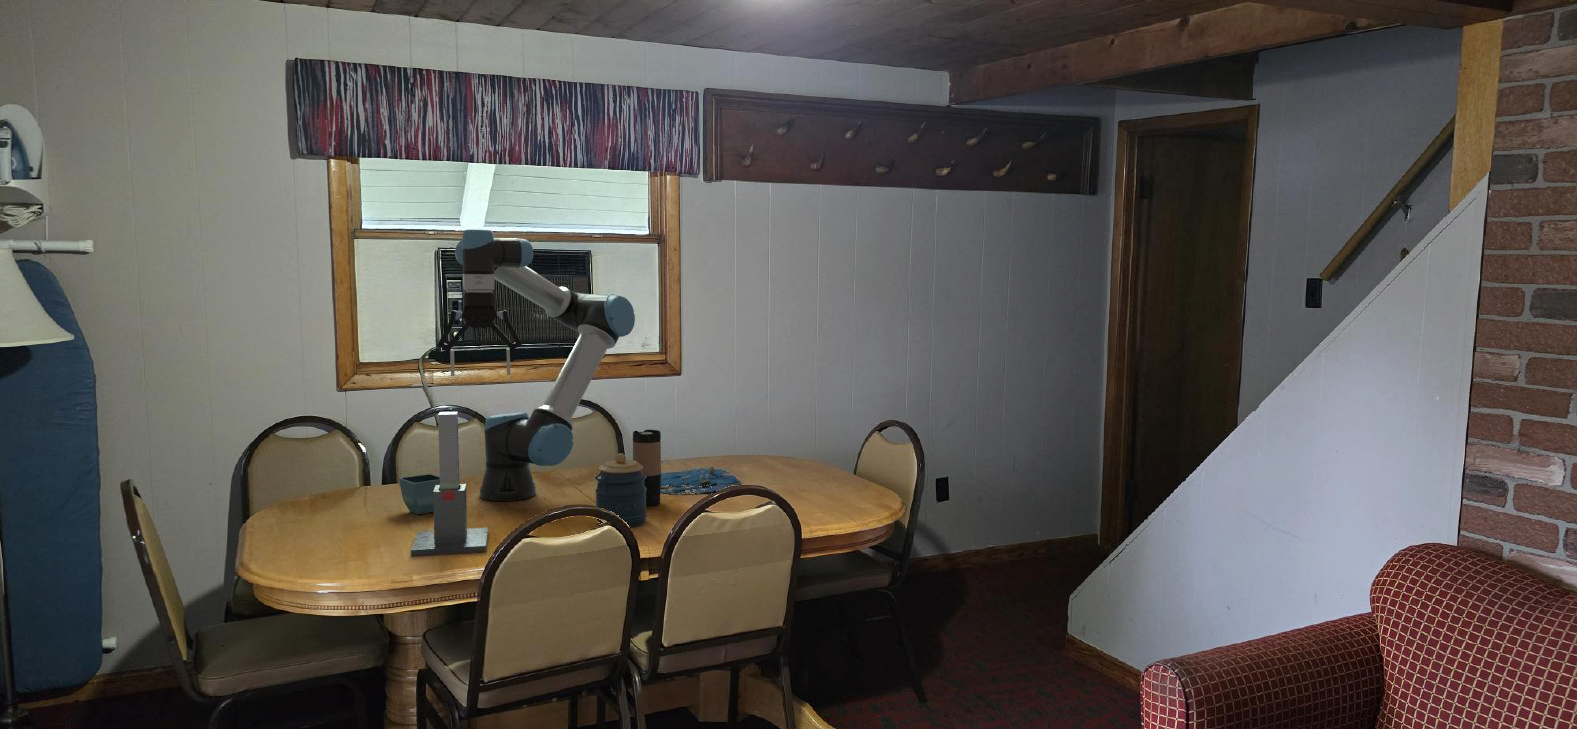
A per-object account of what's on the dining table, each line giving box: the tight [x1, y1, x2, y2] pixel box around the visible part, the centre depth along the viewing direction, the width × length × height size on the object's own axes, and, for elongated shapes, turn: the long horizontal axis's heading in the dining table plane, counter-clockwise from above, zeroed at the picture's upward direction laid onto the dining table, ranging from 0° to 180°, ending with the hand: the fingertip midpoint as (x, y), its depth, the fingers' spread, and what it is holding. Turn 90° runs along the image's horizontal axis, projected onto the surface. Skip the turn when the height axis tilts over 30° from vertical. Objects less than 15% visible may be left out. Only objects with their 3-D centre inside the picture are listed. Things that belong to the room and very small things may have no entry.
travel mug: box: [632, 429, 662, 508], centre depth 276 cm, size 8×8×20 cm
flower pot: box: [398, 473, 440, 515], centre depth 266 cm, size 9×9×9 cm
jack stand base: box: [410, 483, 489, 558], centre depth 236 cm, size 16×16×14 cm
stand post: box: [437, 411, 461, 491], centre depth 235 cm, size 4×4×23 cm
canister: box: [594, 453, 648, 528], centre depth 257 cm, size 13×13×18 cm
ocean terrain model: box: [660, 465, 741, 495], centre depth 302 cm, size 30×30×5 cm
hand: (480, 375), depth 258 cm, fingers open, 13 cm apart
